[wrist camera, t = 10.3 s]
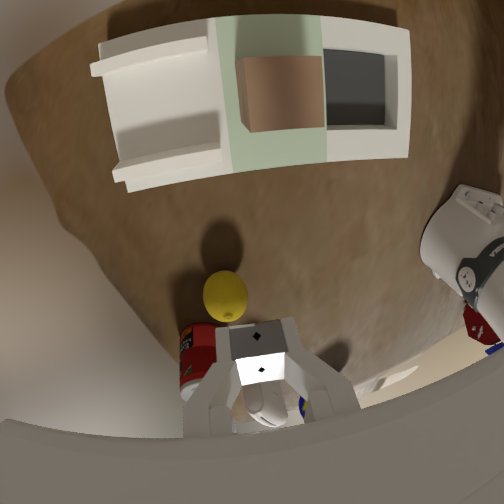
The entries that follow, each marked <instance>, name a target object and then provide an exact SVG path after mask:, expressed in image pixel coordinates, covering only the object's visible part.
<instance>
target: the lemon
mask: <svg viewBox="0 0 504 504" xmlns="http://www.w3.org/2000/svg"><path fill="white" fill-rule="evenodd" d="M203 300H204V304H205V307H206V309H207V311H208V313H209V314H210V315H211V316H212V317H213V318H214V319H216V320H218V321H221V322H231V321H234V320H236V319H238V318H239V317H241V316H242V314H243V313H244V311H245V309H246V307H247V300H248V293H247V289H246V286H245V283H244V282H243V280H242V279H241V278H240V277H239V276H238V275H237V274H235V273H233V272H231V271H218V272H216V273H214V274H212V275H211V276H210V277H209V278H208V279H207V281H206V283H205V285H204V289H203Z"/></svg>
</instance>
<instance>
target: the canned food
mask: <svg viewBox="0 0 504 504" xmlns="http://www.w3.org/2000/svg"><path fill="white" fill-rule="evenodd" d="M216 328H220V327H219V326H217V325H214V324H210V323H197V324H193V325H190V326H188V327H187V328H186V329H184V331H183V332H182V334H181V337H180V393H181V397H182V398H183V400H185V401H186V402H187V401H188V400H189V398H190V397H191V395H192V394H193V392H194V391H195V389H196V388H197V387H198V385H199V384H200V382H201V381H202V379H203V378H204V376H205V375H206V373H207V372H208V370H209V369H210V367H211V366H212V364H213V363H217V355H216V336H215V330H216Z"/></svg>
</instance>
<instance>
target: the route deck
mask: <svg viewBox="0 0 504 504" xmlns="http://www.w3.org/2000/svg"><path fill="white" fill-rule="evenodd" d="M98 47H99V55H100V61H98V62H95V63H92V64H90V68H91V75H92V77H96V76H103V82H104V88H105V94H106V99H107V105H108V110H109V115H110V120H111V125H112V129H113V134H114V138H115V143H116V147H117V151H118V155H119V160H120V162H119V163H118V164H117V165H116V167H115V168H114V169H113V170H112V173H113V177H114V180H115V183H116V182H120V181H124V180H125V183H126V186H127V190H128V193H129V192H134V191H138V190H143V189H148V188H152V187H157V186H162V185H167V184H172V183H177V182H183V181H188V180H194V179H199V178H205V177H211V176H217V175H223V174H230V173H237V172H243V171H251V170H258V169H266V168H274V167H282V166H291V165H300V164H310V163H321V162H333V161H347V160H362V159H382V158H408V150H409V137H410V120H411V51H410V35H409V30H406V29H402V28H398V27H393V26H389V25H384V24H379V23H373V22H368V21H361V20H355V19H347V18H339V17H330V16H318V15H301V14H254V15H237V16H225V17H216V18H207V19H200V20H193V21H187V22H181V23H176V24H170V25H165V26H161V27H156V28H152V29H148V30H144V31H140V32H136V33H132V34H129V35H125V36H122V37H118V38H115V39H112V40H109V41H106V42H103V43H100V44H98ZM323 49H330V50H323ZM337 50H344V51H337ZM350 51H356V52H350ZM360 52H365V53H360ZM369 53H373V54H369ZM377 54H380V55H377ZM262 56H322V70H323V90H324V119H325V127H319V128H301V129H287V130H276V131H265V132H256V133H250V132H249V130H248V129H247V128H246V127H245V126H244V125H243V123H242V122H241V117H240V108H239V99H238V89H237V80H236V70H235V62H236V61H238V60H240V59H242V58H247V57H262ZM334 124H340V125H334Z"/></svg>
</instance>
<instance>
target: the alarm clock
mask: <svg viewBox="0 0 504 504" xmlns="http://www.w3.org/2000/svg"><path fill="white" fill-rule="evenodd" d="M463 317H464V320H465V324H466V328H467V332H468V336H469V337H471V338H473V339H475V340H477V341H479V342H481V343H483V344H484V345H495V346H492V347H490V348H489V349H487V350H485V352H486V353H487V354H488V355H490V354H492V353H494V352H496V351H497V350H499V349H501V348H502V347H504V343H503V342H501V343H499V344H497V345H496V343H497V342H499V341H501V340H500V338H499V337H498V336H497V334H496V333H495V332H494V330H493V329H492V328H491V326H490V325H489V324H488V322H487V321H486V320H485V319H484V317H483V316H482V315H481V313H480V312H476V311H475V310H474V309H473V308H471V307H470V306H469V304H468V302H467V305H466V308H464V314H463Z"/></svg>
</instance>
